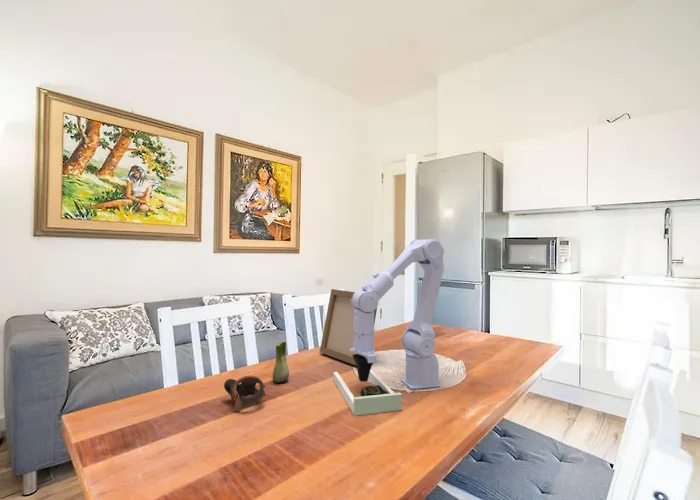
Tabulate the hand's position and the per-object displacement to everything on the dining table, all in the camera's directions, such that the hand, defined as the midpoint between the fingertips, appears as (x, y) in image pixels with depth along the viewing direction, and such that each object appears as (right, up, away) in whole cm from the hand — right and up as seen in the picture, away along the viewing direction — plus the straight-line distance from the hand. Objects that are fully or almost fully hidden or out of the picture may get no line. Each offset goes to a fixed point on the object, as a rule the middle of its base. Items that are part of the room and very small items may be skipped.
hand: (363, 380), depth 101 cm
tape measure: (+3, -4, -6) cm, 8 cm away
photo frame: (-3, -4, +33) cm, 33 cm away
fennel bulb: (-25, -3, +8) cm, 27 cm away
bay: (0, -3, -1) cm, 3 cm away
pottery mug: (-32, -3, -8) cm, 33 cm away
